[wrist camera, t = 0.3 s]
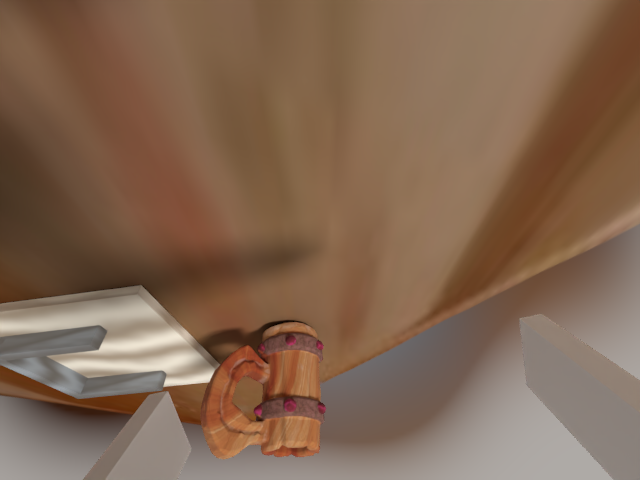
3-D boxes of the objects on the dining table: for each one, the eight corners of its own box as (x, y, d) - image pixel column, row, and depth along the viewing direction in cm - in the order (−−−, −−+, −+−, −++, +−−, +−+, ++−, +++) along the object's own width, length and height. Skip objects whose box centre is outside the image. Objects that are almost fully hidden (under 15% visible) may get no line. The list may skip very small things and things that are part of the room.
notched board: (-35, 308, 36) (-61, 337, 34) (141, 285, 34) (128, 314, 32) (108, 385, 55) (99, 408, 52) (228, 373, 53) (224, 396, 50)
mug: (337, 325, 43) (347, 458, 32) (305, 348, 47) (306, 470, 37) (236, 294, 36) (209, 446, 26) (211, 324, 41) (180, 463, 31)
